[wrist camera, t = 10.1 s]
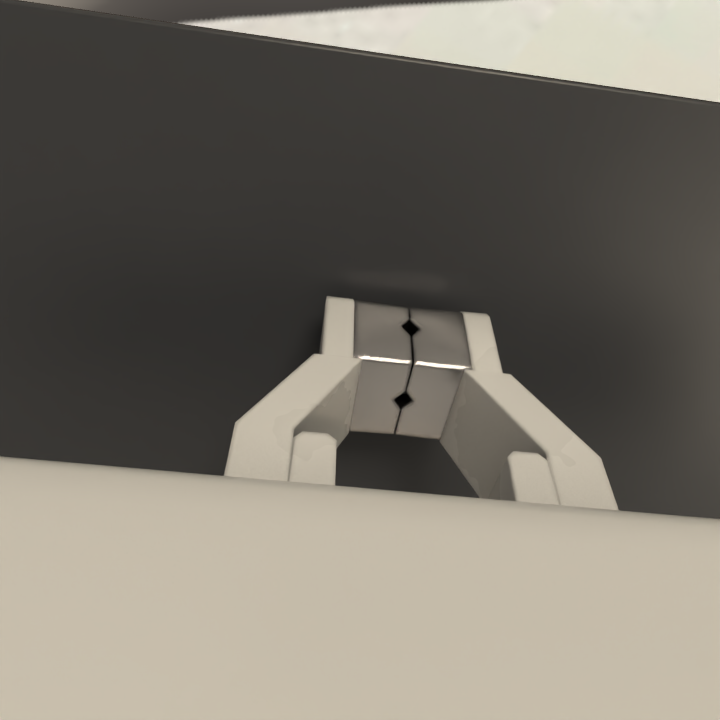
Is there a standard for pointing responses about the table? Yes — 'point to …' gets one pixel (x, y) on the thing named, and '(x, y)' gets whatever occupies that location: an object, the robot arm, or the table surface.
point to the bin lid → (343, 245)
